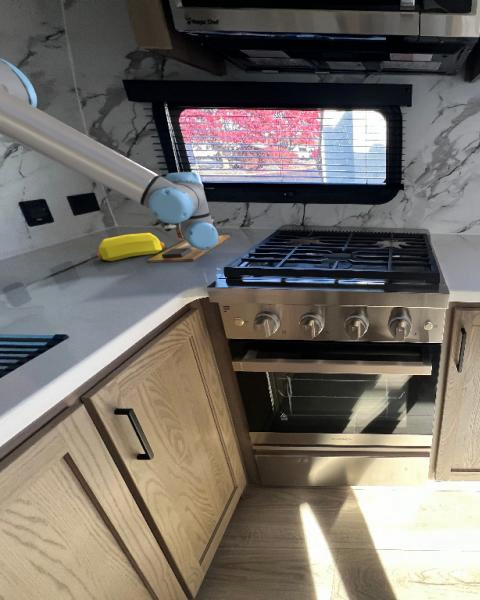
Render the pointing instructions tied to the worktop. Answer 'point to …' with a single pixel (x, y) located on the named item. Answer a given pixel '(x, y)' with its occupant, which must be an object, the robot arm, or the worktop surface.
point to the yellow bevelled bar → (129, 246)
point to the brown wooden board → (183, 252)
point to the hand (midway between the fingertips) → (182, 215)
